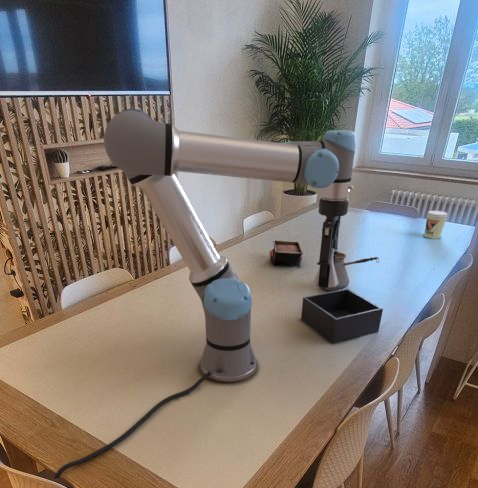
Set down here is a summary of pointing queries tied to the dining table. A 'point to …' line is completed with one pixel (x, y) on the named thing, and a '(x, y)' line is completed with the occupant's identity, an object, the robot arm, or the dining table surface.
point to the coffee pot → (344, 271)
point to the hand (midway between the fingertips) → (325, 281)
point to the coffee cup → (435, 224)
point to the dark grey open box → (341, 315)
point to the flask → (332, 276)
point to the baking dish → (286, 252)
